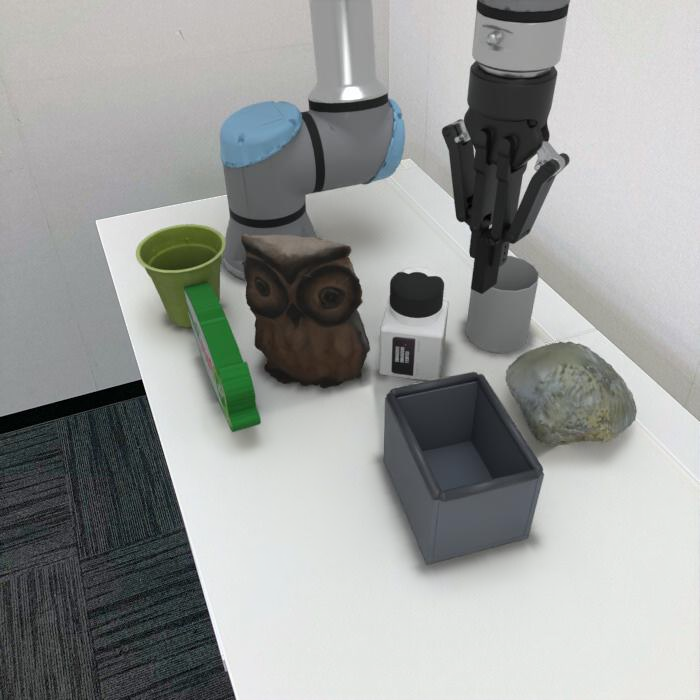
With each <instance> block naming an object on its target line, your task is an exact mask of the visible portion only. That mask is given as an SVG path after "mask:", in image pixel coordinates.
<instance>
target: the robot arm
mask: <svg viewBox="0 0 700 700" xmlns="http://www.w3.org/2000/svg"><path fill="white" fill-rule="evenodd" d="M308 3H309V12H310V13H309V15H310V24H311V33H312V44H313V53H314V54H313V55H314V66H315V75H316V83H315V85H314V87H313V88H312V90H311V91H309V93H308V95H307V100H308V101H307V102H308V110H306V111H300V109H299V108H298V106H297V105H296V104H293V103H291V102H289V101H282V100H280V101H279V100H278V101H276V102H275V101H274V100H268V101H261V102H257V103H253V104H250V105H246V106H244V107H242V108H240V109H238V110H236V111H235V112H233V113H232V114H230V115H229V117H228V118H226V119H225V120H224V121H223V123H222V125H221V127H220V131H219V146H220V152H219V153H220V154H219V157H220V160H221V163H222V168H223V175H224V182H225V190H226V196H227V198H226V199H227V205H228V209H229V210H228V212H229V219H228V224H227V228H226V234H225V236H224V238H225V241H226V246H225V250H224V252H223V253H222V257H223V262H224V266H225V268H226V269H227V271H229V273H230V274H232V275H233V276H235V277H236V278H239V279H241V280H243V281H246V279H245V277H244V276H245V274H244V264H245V262H246V252H245V249H244V246H243V244H242V242H241V240H242V239H241V236H242V235H244V234H245V233H247V234H248V235H249V236H250V235H260V236H263V235H266V236H268V235H296V236H299V237H315V238H318V235H317V233H316V231H315V228H314V226H313V224H312V221H311V219H310V217H309V214H308V212H307V203H306V198H307V197H306V196H307V195H311V194H316V193H323V192H327V191H328V192H329V191H332V190H338V189H343V188H347V187H353V186H358V185H362V186H364V185H369V184H372V183H374V182H377V181H380V180H381V181H382V180H385V179H387V178H389V177H391V176H393V174H394V173H395V172H396V170H397V169H398V168H399V167H400V164H401V162H402V160H403V155H404V151H405V142H406V126H405V120H404V119H403V112H402V109H401V106H400V105H399V104H398V102H397V101H396V100H395V99H393V98H390V97H389V90H388V87H386V85H384V83H382V82H381V80H379V78H378V76H377V63H376V62H377V61H376V46H375V45H376V44H375V29H374V27H375V26H374V12H373V9H374V8H373V0H308ZM570 3H571V0H476V9H475V18H474V28H473V29H474V30H473V40H472V50H471V56H472V58H473V60H474V62H473V63H472V64H471V66H470V67H469V76H468V87H467V97H466V102H467V106H468V108H467V110H466V112H465V114H464V116H463V119H462V118H460V119H457V120H455V121H454V122H451V123H449V124H447V125H445V126H443V127H442V129H441V135H442V137H443V140H444V142H445V145H446V148H447V150H448V156H449V166H450V176H451V184H452V193H453V203H454V211H455V218H456V220H457V221H458V222H459V223H465V224H466V225H467V226H468V227H469V231H470V240H469V249H468V250H469V251H468V254H469V257H470V258H472V259H473V268H472V273H471V274H472V275H471V276H472V277H471V284H470V290H471V289H472V290H474V291H476V292H478V293H480V294H483V293H484V292H486V291H487V290H489V289H490V288H491V287H493V286H494V285H495V284H497V278H498V271H499V267H500V266H502V265H503V264H504V263H505V262H506V261H507V257H508V256H509V250H510V245H515V244H516V243H517V242H519V241H520V240H522V239H523V238H525V237H526V236H528V235H529V234H530V233H531V231H532V229H533V226H534V224H535V223H536V220H537V218H538V216H539V215H540V211H541V209H542V208H543V205H544V203H545V201H546V199H547V197H548V194H549V192H550V190H551V188H552V185H553V183H554V181H555V179H556V177H557V176H558V174H560V173H561V172H562V171H563V170H564V169H565V168H566V167H567V166H568V165H569V163H570V161H571V160H570V156H569V154H567V153H565V152H561V153H558V152H557V150H556V149H555V148H554V146H552V144H551V143H550V142H549V141H550V137H551V136H550V135H551V134H550V129H549V127H548V125H549V124H548V119H549V116H550V112H551V110H552V106H553V102H554V95H555V89H556V84H557V78H558V70H557V68H556V67H555V66H556V65H558V64H559V62H560V61H561V59H562V52H563V45H564V40H565V39H564V38H565V33H566V27H567V21H568V14H569V8H570ZM536 155H537V158H536V161H535V165H534V166H533V169H534V171H535V172H534V174H533V175H532V177H531V178H530V180H529V182H528V184H527V187H526V189H525V192H524V194H523V196H522V199H521V201H520V195H521V189H522V182H523V177H524V174H525V172H526V170H527V168H528V162H529V161H531V159H533V158H534V157H535V156H536ZM519 202H520V203H519ZM490 226H491V227H490Z"/></svg>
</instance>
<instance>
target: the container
mask: <svg viewBox="0 0 700 700" xmlns="http://www.w3.org/2000/svg"><path fill="white" fill-rule="evenodd" d="M444 292H445V282H444V280H443V278H442V277H441V276H440V275H439V274H438V273H436V272H435V271H433V270H431V269H428V268H423V267H409V268H404V269H402V270H399V271H398V272H396V273H395V274H394V275H393V276H392V277H391V279H390V282H389V296H388V298H387V302H386V307H385V310H384V314H383V318H382V321H381V324H380V328H379V359H378V360H379V364H378V373H379V375H382V376H388V377H396V378H405V379H411V380H421V381H426V382H427V381H431V380H436V379H440V378H441V377H440V376H441V370H442V363H443V359H444V350H445V345H446V336H447V335H446V334H447V325H448V314H449V304H450V303H449V300H448V299H444V294H445V293H444Z"/></svg>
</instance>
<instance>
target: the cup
mask: <svg viewBox="0 0 700 700" xmlns="http://www.w3.org/2000/svg"><path fill="white" fill-rule="evenodd" d="M539 278H540V272H539V270H538V268H537V267H536V266H535V265H534V264H532V263H531V262H529V261H527V260H526V259H524V258H521V257H516V256H513V255H508V257H507V261H506V262H505V263H504V264H503V265H502V266H500V267H499V271H498V278H497V284H495V285H494V286H493V287H491V288H490V289H489V290H487V291H486V292H484V293H483V294H480V293H478V292H476V291H474V290H472V289H471V288H470V294H469V302H468V311H467V320H466V329H465V334H466V336H467V338H468V340H469V342H470V343H472V344H473V345H474V346H476V348H479V349H481V350H484V351H487V352H490V353H499V354H509V353H512V352H515V351H519V350H520V349H521V348H522V347H524V346H525V345H526V344H527V342H528V341H527V340H528V336H529V331H530V327H531V320H532V315H533V310H534V304H535V299H536V294H537V290H538V284H539Z"/></svg>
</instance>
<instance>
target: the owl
mask: <svg viewBox="0 0 700 700" xmlns="http://www.w3.org/2000/svg"><path fill="white" fill-rule="evenodd" d="M241 239H242V240H241V242H242V244H243V246H244V249H245V252H246V262H245V264H244V274H245V276H244V277H245V279H246V280H245V283H246V285H245V301H246V305H247V306H248V307H249V310H250V312H251V313H252V314H253V315H254V317H255V321H254V329H255V332H254V333H255V335H254V346H255V348H256V349H257V350H258V351H259V352H261V353H262V354H263V356H264V357H265V358H266V362H265V364H264V366H263V370H264V372H266V373H267V374H269V376H270V377H271V378H273V379H275V380H276V381H277V382H278V383H282V384H283V385H287V384H292V383H294V384H295V383H296V384H297V383H298V384H299V385H300V386H301V387H309V386H319V387H320V388H322V389H323V390H324V389H328V388H331V387H339V386H341V385H342V384H344V383H346V382H350V381H353V380H356V379H357V380H358V379H360V378H362V377H363V372H362V370H363V368H364V365H365V363H366V360H367V356H368V353H370V351H371V345H370V340H369V337H368V336H367V332H366V329H365V324H364V322H363V320H362V317H361V313H360V311H358V309H359V308H360V306H361V305H363V303H364V302H363V301H364V300H363V288H362V285H361V281H360V280H361V279H360V278H359V277H358V276H357V274H356V272H355V268H354V264H353V262H352V261H351V259H350V254H351V253H352V246H350V245H349V244H343V243H339V242H334V241H329V240H325V239H322V238H318V237H317V238H315V237H299V236H296V235H268V236H266V235H263V236H260V235H250V236H249V235H248V234H247V233H245V234H244V235H242V236H241Z"/></svg>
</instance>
